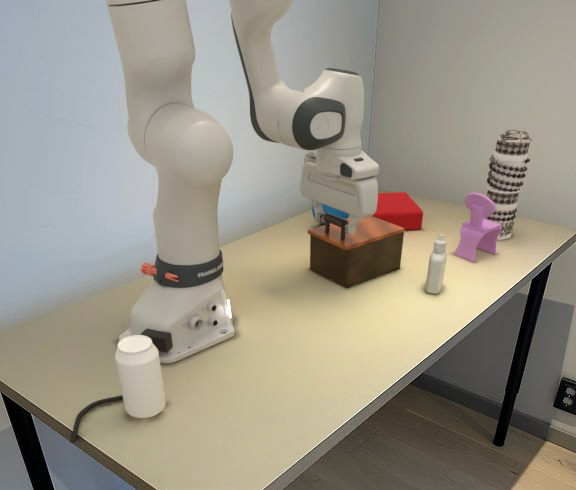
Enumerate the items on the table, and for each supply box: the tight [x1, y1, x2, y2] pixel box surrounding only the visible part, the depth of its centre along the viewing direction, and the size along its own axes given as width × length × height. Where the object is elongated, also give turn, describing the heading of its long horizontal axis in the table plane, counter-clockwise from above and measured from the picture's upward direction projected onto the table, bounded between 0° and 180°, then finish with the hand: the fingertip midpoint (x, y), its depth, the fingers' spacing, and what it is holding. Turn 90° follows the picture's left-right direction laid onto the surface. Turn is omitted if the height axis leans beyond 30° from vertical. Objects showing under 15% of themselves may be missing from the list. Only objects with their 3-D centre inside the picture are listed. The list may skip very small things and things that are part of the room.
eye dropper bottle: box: [424, 233, 448, 295], centre depth 122 cm, size 4×6×12 cm
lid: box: [307, 213, 405, 250], centre depth 128 cm, size 17×13×5 cm
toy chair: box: [452, 192, 502, 263], centre depth 137 cm, size 8×9×15 cm
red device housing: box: [372, 191, 424, 231], centre depth 160 cm, size 18×14×5 cm
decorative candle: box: [485, 129, 533, 241], centre depth 146 cm, size 9×9×25 cm
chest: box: [309, 231, 405, 289], centre depth 132 cm, size 17×13×9 cm
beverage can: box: [114, 335, 167, 419], centre depth 87 cm, size 6×6×12 cm
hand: (334, 227), depth 124 cm, fingers open, 8 cm apart
